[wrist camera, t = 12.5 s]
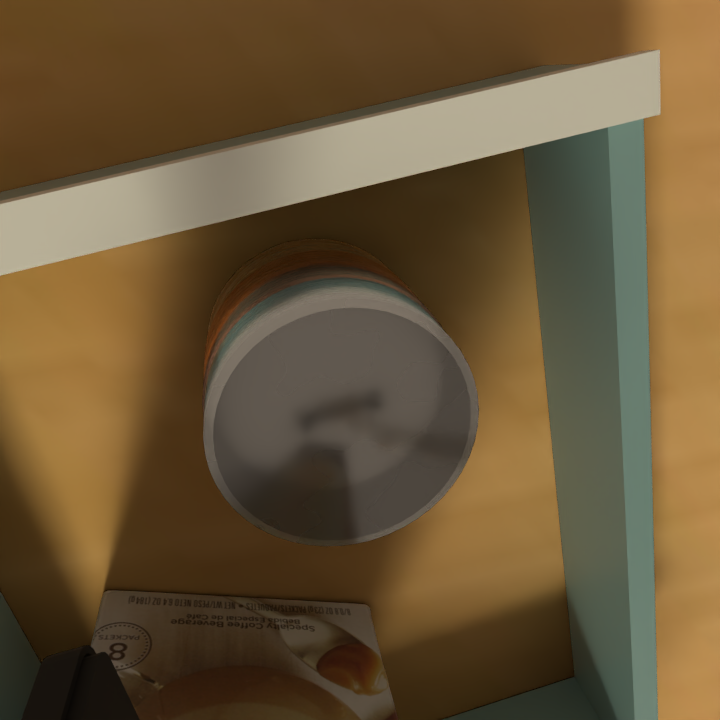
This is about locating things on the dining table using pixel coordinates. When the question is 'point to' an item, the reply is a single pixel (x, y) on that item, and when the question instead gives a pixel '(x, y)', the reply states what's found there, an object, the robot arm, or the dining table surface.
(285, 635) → the coffee box
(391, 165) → the tray
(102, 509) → the dining table surface
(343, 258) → the tin
